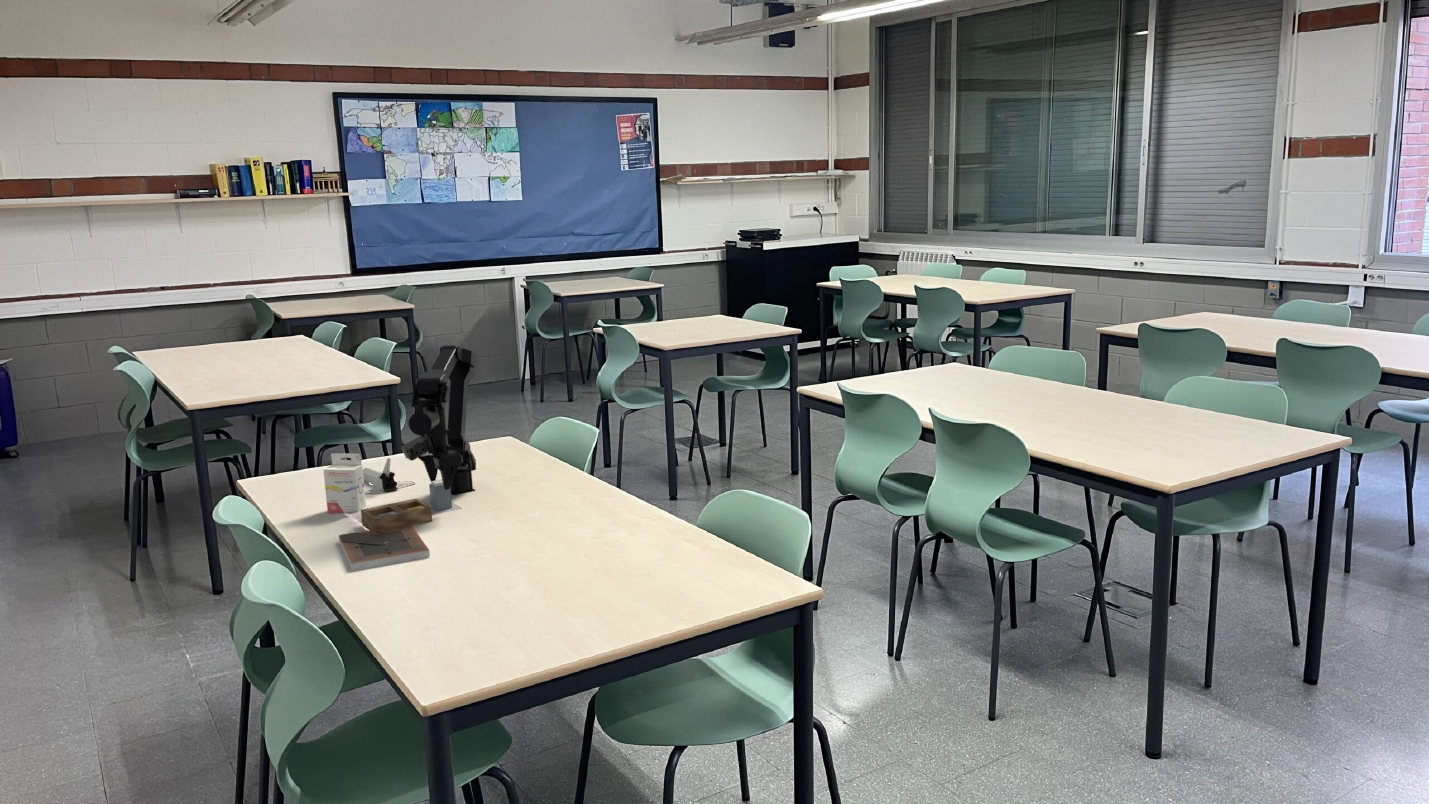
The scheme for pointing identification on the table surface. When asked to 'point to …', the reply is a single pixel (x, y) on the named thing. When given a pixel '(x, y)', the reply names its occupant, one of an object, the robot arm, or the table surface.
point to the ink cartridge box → (345, 484)
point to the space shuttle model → (382, 480)
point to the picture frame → (382, 546)
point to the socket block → (396, 514)
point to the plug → (440, 496)
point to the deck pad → (454, 507)
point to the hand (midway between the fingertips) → (439, 485)
